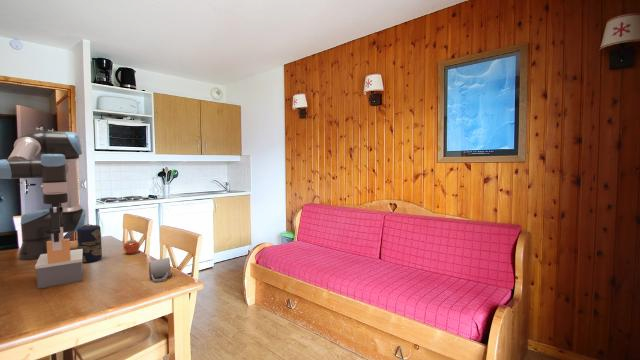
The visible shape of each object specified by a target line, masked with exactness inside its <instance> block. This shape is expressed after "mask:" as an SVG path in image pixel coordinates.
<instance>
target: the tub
mask: <svg viewBox="0 0 640 360" xmlns="http://www.w3.org/2000/svg"><path fill="white" fill-rule="evenodd" d="M83 263H84V262H78V263H71V264H65V265H58V266H52V267H45V268H39V269H35V271H36V286H37V289H44V288H49V287H55V286H61V285H67V284H72V283H73V284H74V283H77V282H82V281H83V279H84V278H83V276H84V264H83Z"/></svg>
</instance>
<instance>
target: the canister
mask: <svg viewBox="0 0 640 360" xmlns="http://www.w3.org/2000/svg"><path fill="white" fill-rule="evenodd" d="M101 230H102V229H101V226H100V225H98V224H88V223H87V224H84V226H82V227H79V228H78V229H77V231H76V237H77V238H76V239H77V249H83V256H82V262H83V263H90V262H91V263H92V262H95V261H98V260H100V259H101V258H103V253H102V252H103V251H102V249H103V248H102V234H101V232H102V231H101Z"/></svg>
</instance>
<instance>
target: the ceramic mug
mask: <svg viewBox="0 0 640 360" xmlns="http://www.w3.org/2000/svg"><path fill="white" fill-rule="evenodd" d="M170 261H171V260H170V257H164V258H160V259H154V260H150V261H149V262H148V276H149V278H150V279H152V281H153V282H155V283H162V282H164V281H165V280H166V279H168V277H172V276H171V274H172V273H171V262H170Z"/></svg>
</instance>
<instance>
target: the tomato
mask: <svg viewBox="0 0 640 360" xmlns="http://www.w3.org/2000/svg"><path fill="white" fill-rule="evenodd" d="M139 249H140V242H138V241H137V240H136V239H133V238H132V237H131V238H130V239H129V240H127V241H126V242H125V243H124V245H123V250H124V252H125V253H126V254H128V255H134V254H136V253H137V252H138V251H139Z"/></svg>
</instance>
